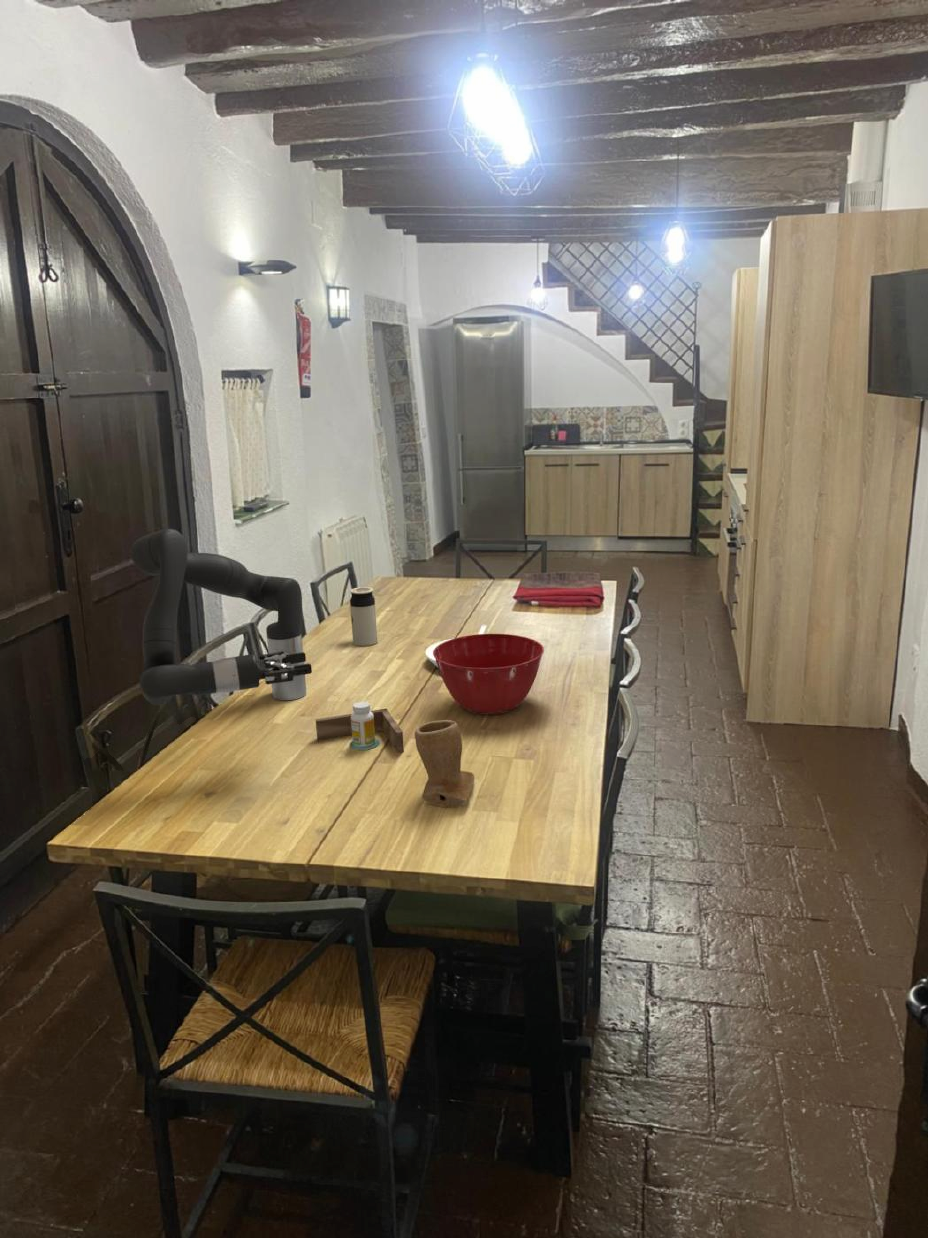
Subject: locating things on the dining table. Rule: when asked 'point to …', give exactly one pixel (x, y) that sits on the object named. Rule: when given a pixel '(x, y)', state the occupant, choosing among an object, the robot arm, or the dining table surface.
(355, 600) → the travel mug
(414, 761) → the dining table surface
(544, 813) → the dining table surface
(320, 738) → the corner arena
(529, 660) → the mixing bowl
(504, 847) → the dining table surface
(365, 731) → the supplement bottle
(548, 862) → the dining table surface
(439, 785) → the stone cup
